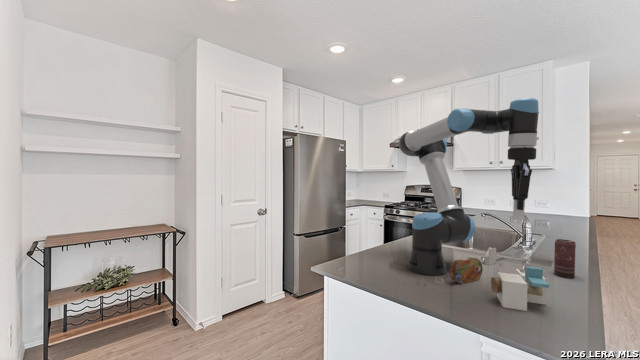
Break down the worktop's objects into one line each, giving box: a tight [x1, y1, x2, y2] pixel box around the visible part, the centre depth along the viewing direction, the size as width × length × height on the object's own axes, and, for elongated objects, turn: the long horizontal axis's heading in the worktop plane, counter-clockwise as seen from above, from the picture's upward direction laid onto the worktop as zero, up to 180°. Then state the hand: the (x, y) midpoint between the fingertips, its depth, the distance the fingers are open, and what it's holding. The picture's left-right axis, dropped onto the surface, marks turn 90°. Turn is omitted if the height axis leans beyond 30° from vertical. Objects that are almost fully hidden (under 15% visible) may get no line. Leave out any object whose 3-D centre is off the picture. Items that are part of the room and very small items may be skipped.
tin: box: [449, 257, 484, 285], centre depth 104 cm, size 15×3×8 cm, turn 114°
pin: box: [490, 276, 543, 296], centre depth 85 cm, size 13×5×5 cm, turn 68°
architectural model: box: [481, 246, 498, 266], centre depth 125 cm, size 3×7×7 cm, turn 120°
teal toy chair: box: [524, 265, 550, 289], centre depth 84 cm, size 4×7×4 cm, turn 158°
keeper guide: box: [514, 268, 547, 305], centre depth 89 cm, size 6×7×8 cm
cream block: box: [496, 271, 528, 312], centre depth 86 cm, size 6×8×8 cm
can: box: [553, 238, 577, 279], centre depth 109 cm, size 6×6×14 cm
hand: (518, 219), depth 91 cm, fingers closed
